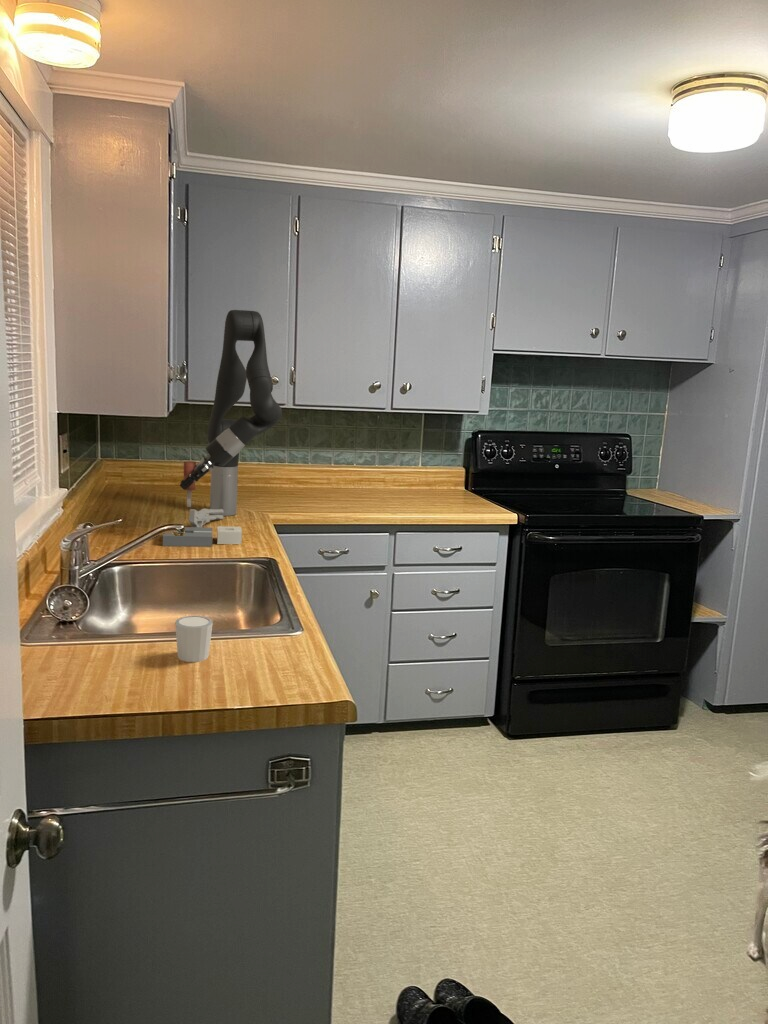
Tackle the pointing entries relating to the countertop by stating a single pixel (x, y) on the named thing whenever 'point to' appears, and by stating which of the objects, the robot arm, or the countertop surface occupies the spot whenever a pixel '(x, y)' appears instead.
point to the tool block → (229, 535)
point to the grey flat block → (190, 537)
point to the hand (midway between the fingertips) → (182, 486)
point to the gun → (204, 516)
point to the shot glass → (193, 638)
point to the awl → (188, 470)
